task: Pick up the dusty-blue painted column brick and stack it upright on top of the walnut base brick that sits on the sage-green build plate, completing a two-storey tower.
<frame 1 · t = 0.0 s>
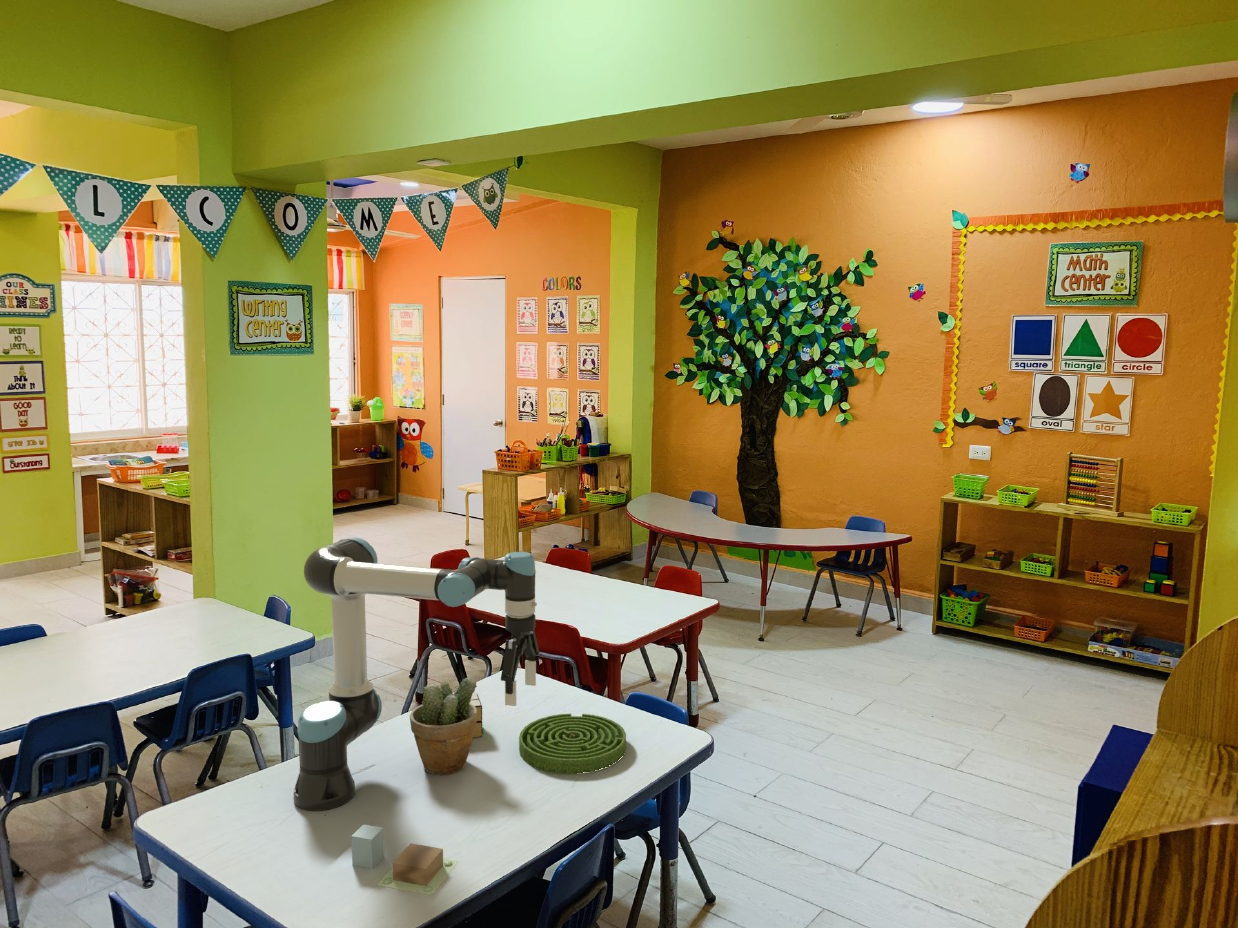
hand: (520, 694, 228), 28 cm above the table, fingers open, 13 cm apart
build plate: (418, 876, 197), on the table
potted plant: (444, 765, 249), on the table
maze: (572, 750, 260), on the table
column brick: (368, 864, 202), on the table
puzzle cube: (463, 732, 270), on the table
base brick: (418, 872, 197), point 1 cm above the table, touching build plate
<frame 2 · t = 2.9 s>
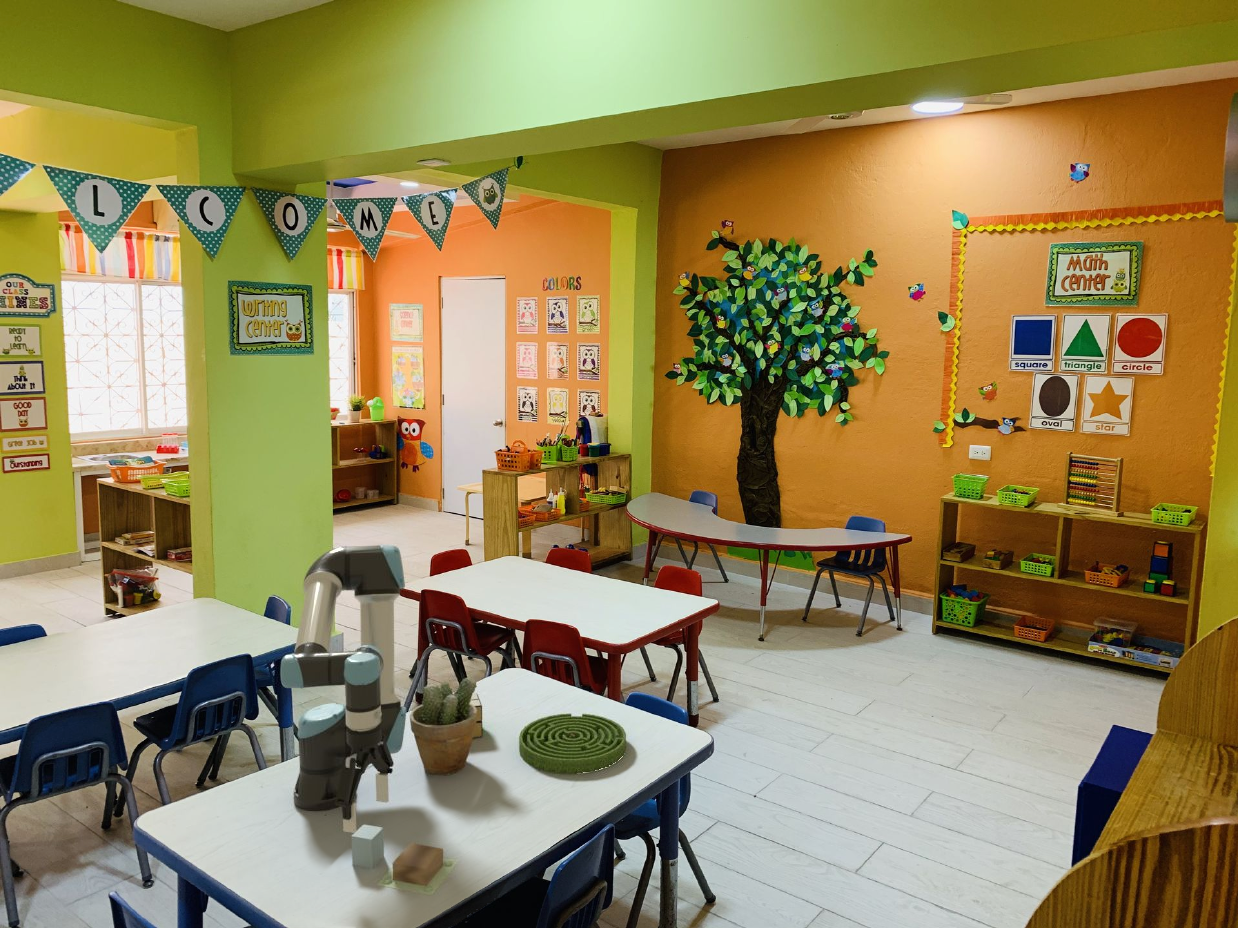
hand: (366, 815, 200), 12 cm above the table, fingers open, 13 cm apart
nothing on the table moved.
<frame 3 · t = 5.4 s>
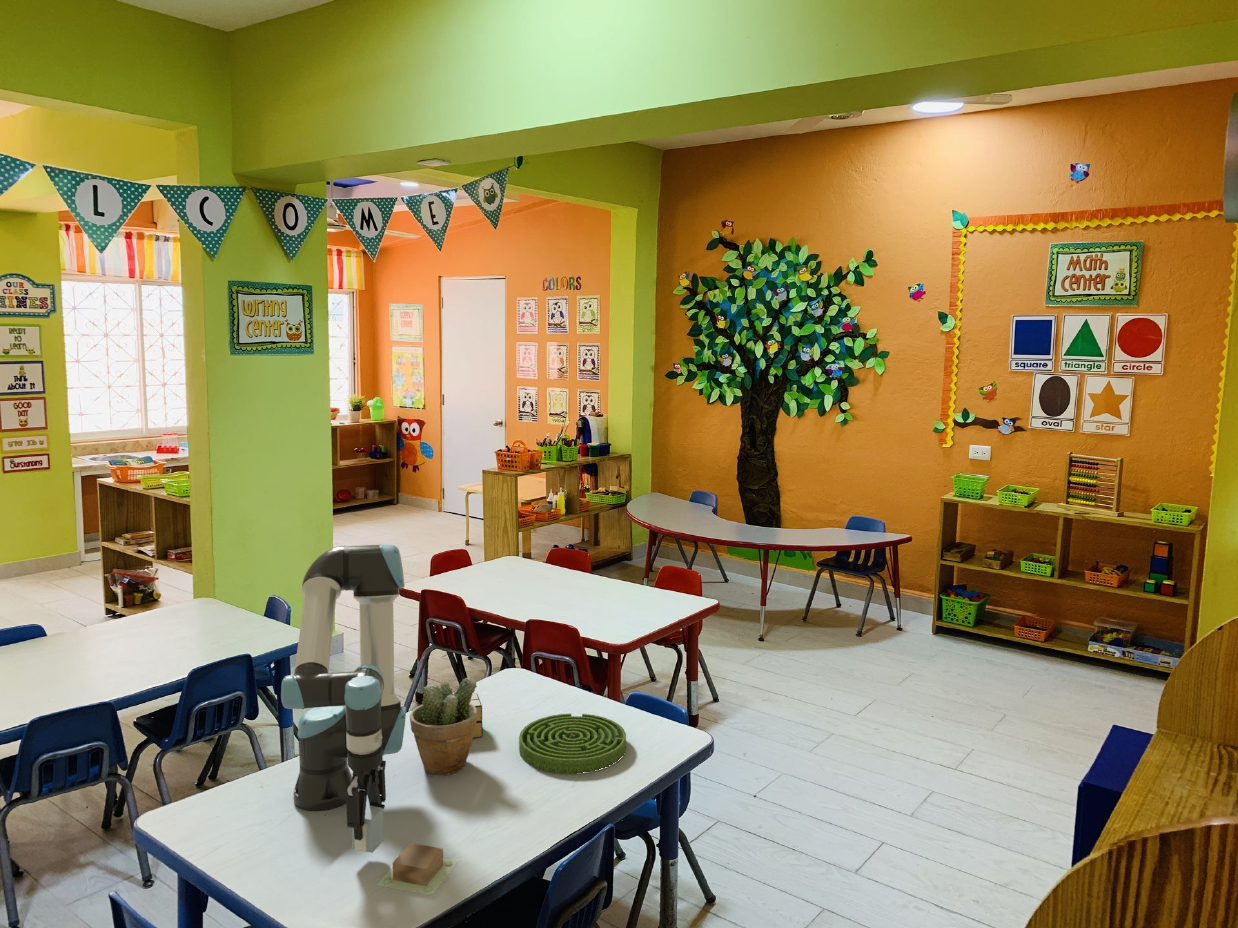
hand: (368, 842, 202), 5 cm above the table, fingers closed on column brick, 5 cm apart
column brick: (368, 844, 202), point 4 cm above the table, touching gripper
everything else where it was.
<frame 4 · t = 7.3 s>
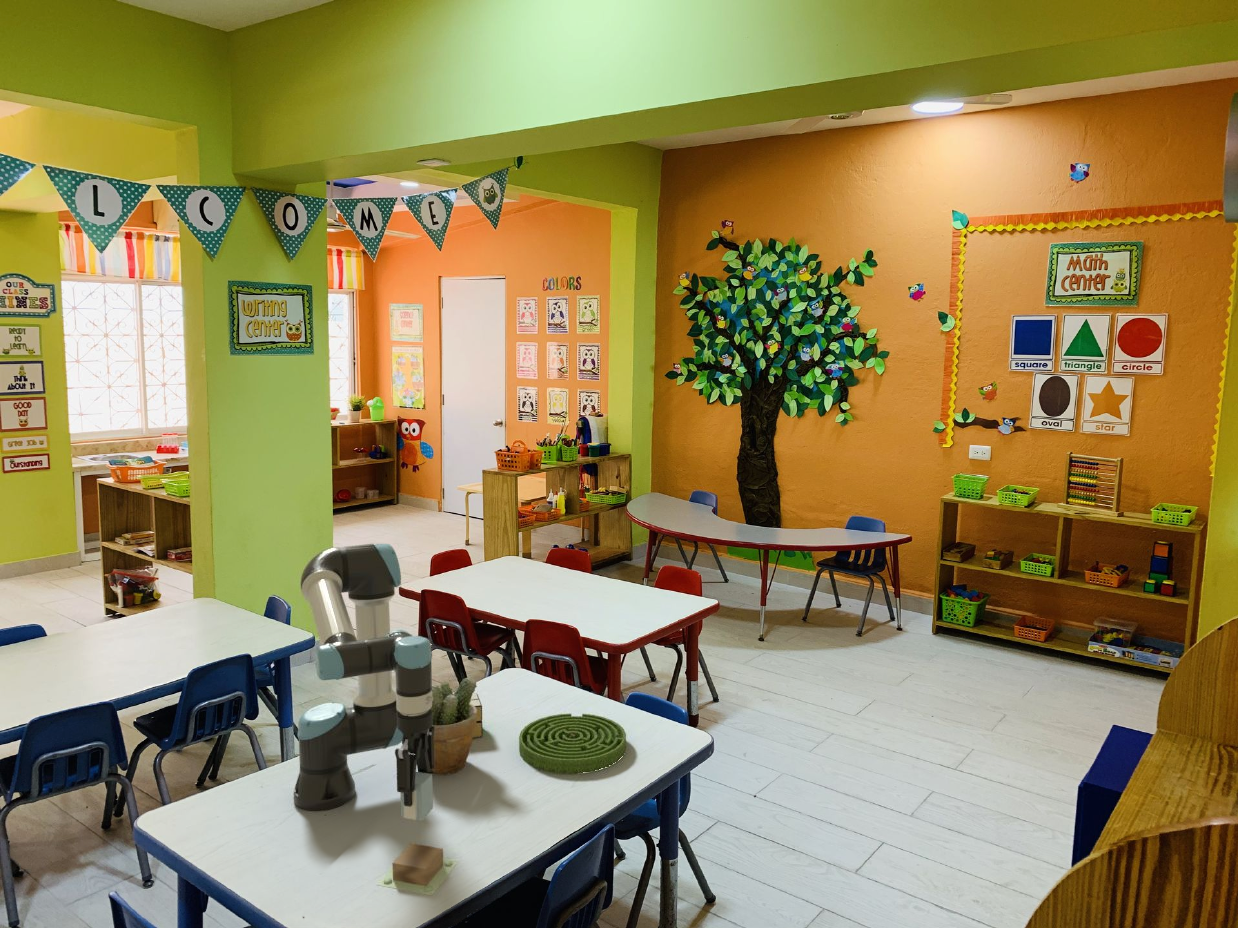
hand: (417, 810, 195), 16 cm above the table, fingers closed on column brick, 5 cm apart
column brick: (417, 812, 195), point 15 cm above the table, touching gripper
everything else where it was.
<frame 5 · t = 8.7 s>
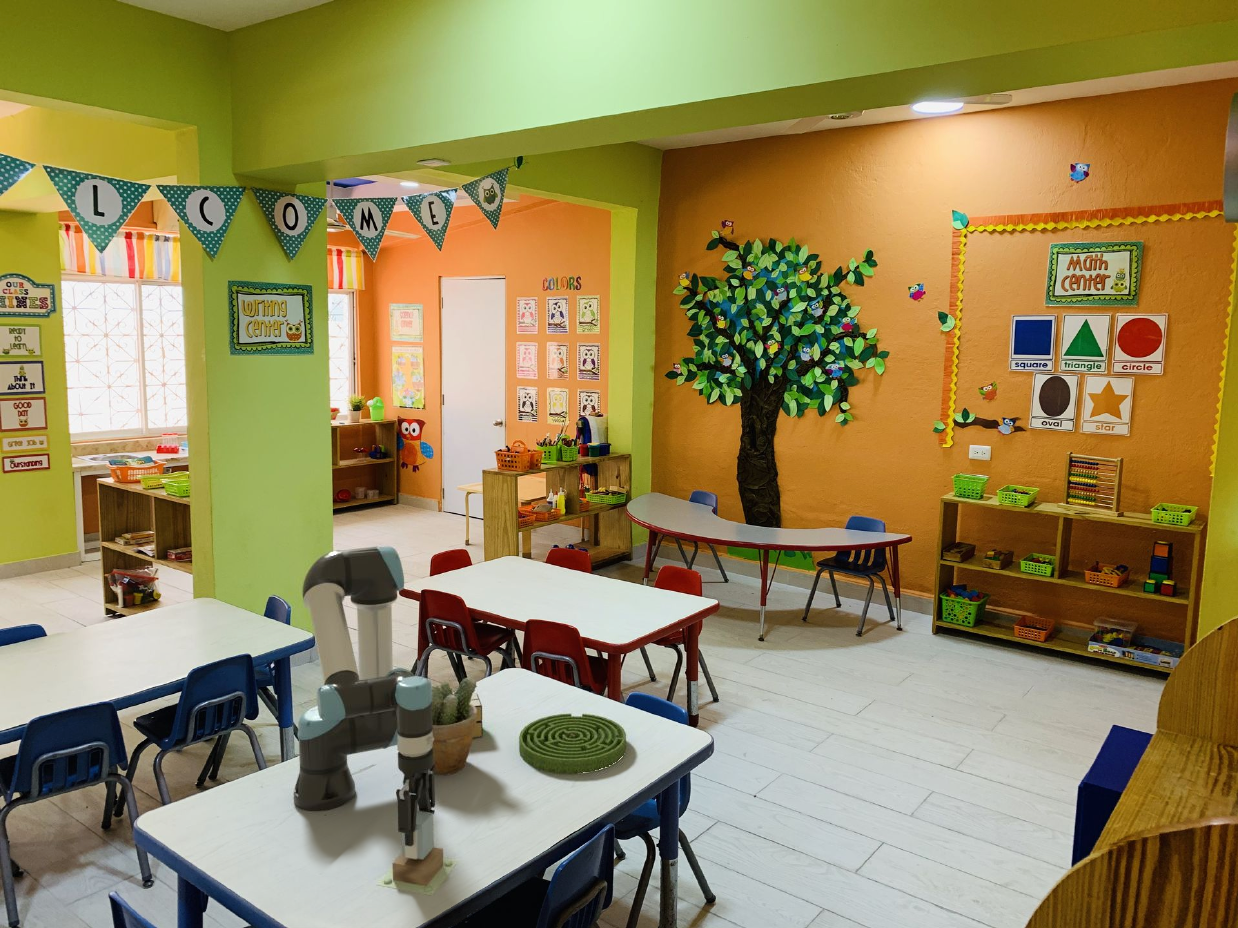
hand: (418, 849, 196), 6 cm above the table, fingers closed on column brick, 5 cm apart
column brick: (418, 851, 196), point 6 cm above the table, touching gripper
everything else where it was.
when the fingers open (5 cm above the table, at t = 9.3 s): column brick stays where it is, resting on base brick.
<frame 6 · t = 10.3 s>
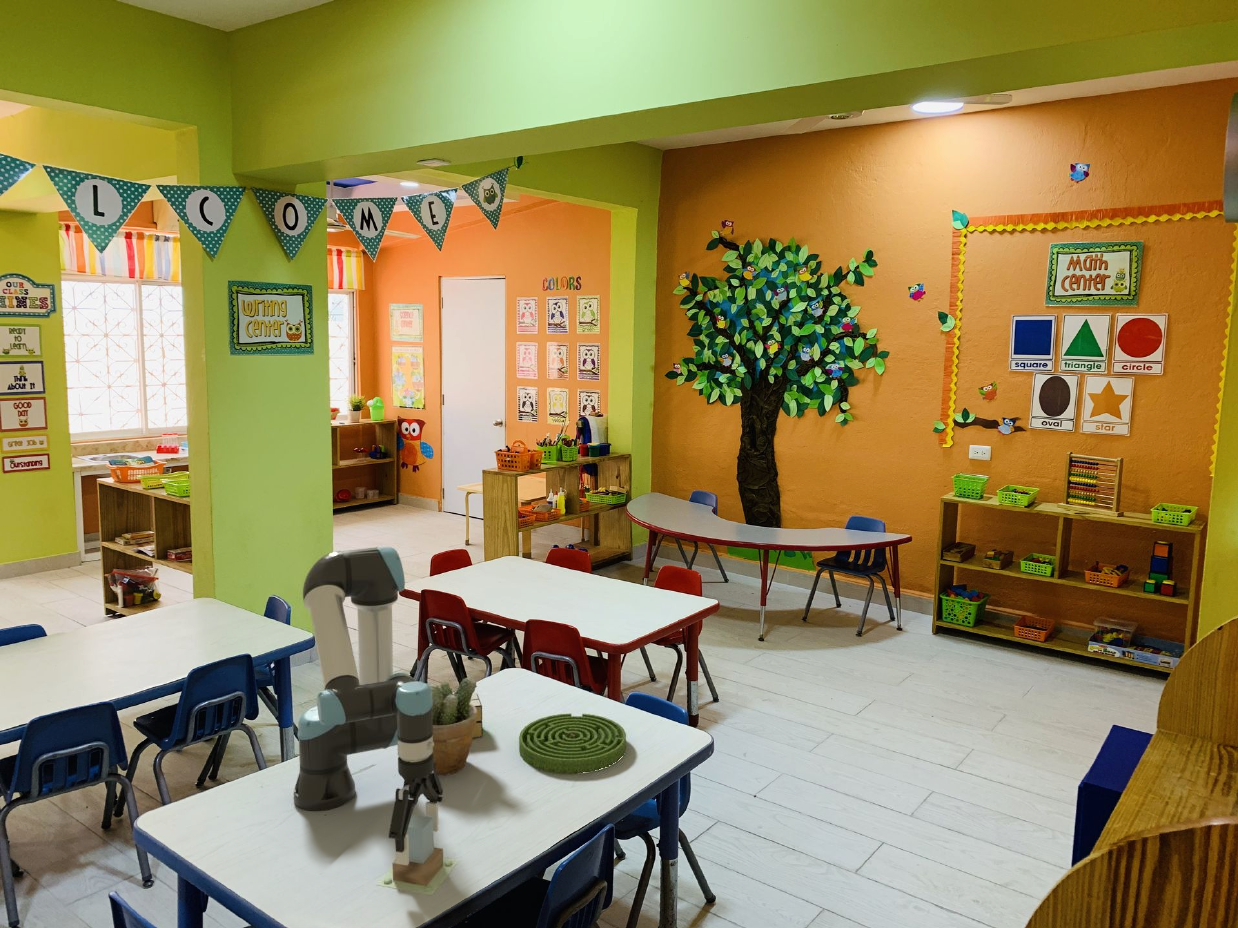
hand: (417, 846, 196), 7 cm above the table, fingers open, 13 cm apart
column brick: (418, 855, 197), point 5 cm above the table, touching base brick
base brick: (418, 872, 197), point 1 cm above the table, touching build plate, column brick
everything else where it was.
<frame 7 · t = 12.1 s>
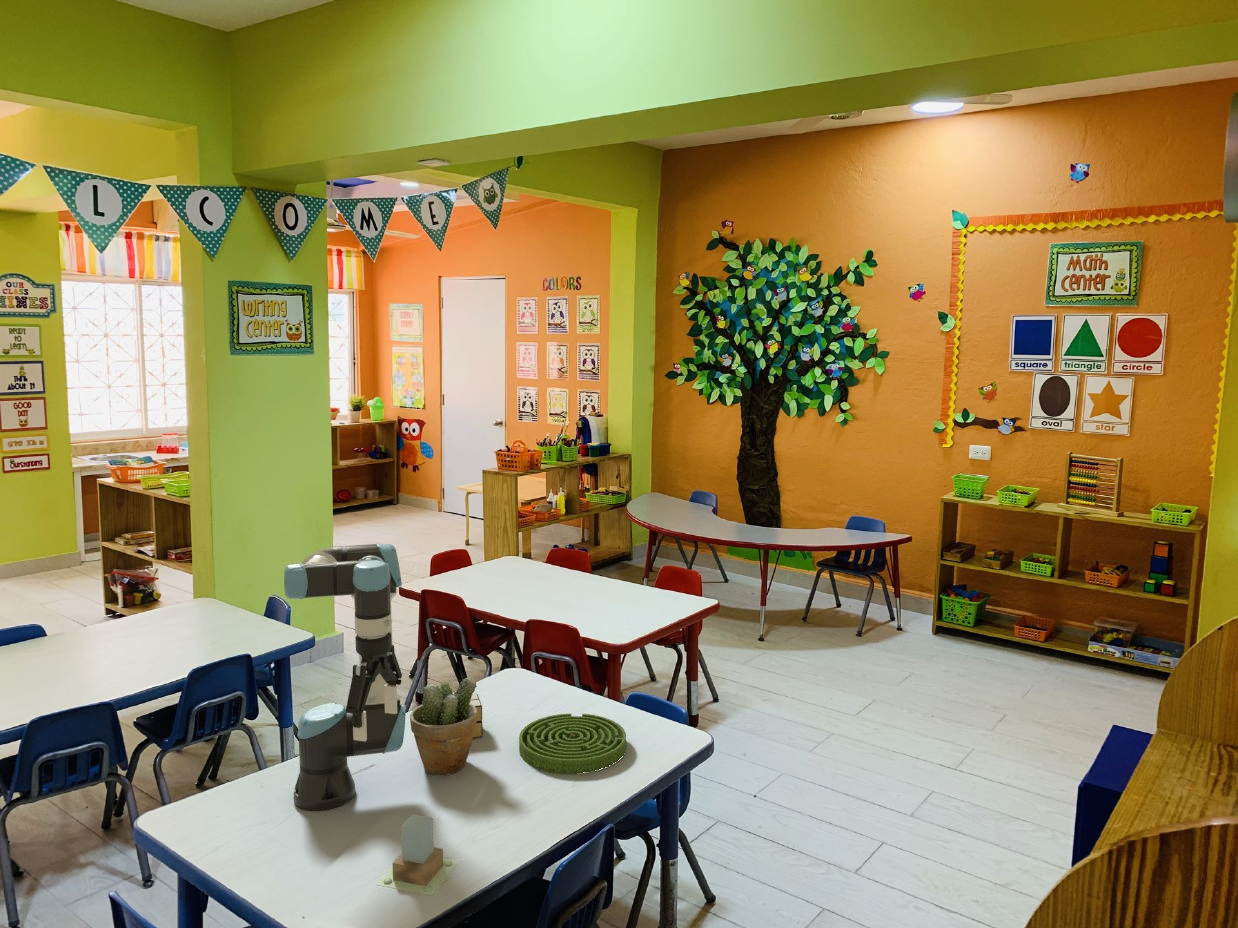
hand: (376, 725, 196), 33 cm above the table, fingers open, 13 cm apart
nothing on the table moved.
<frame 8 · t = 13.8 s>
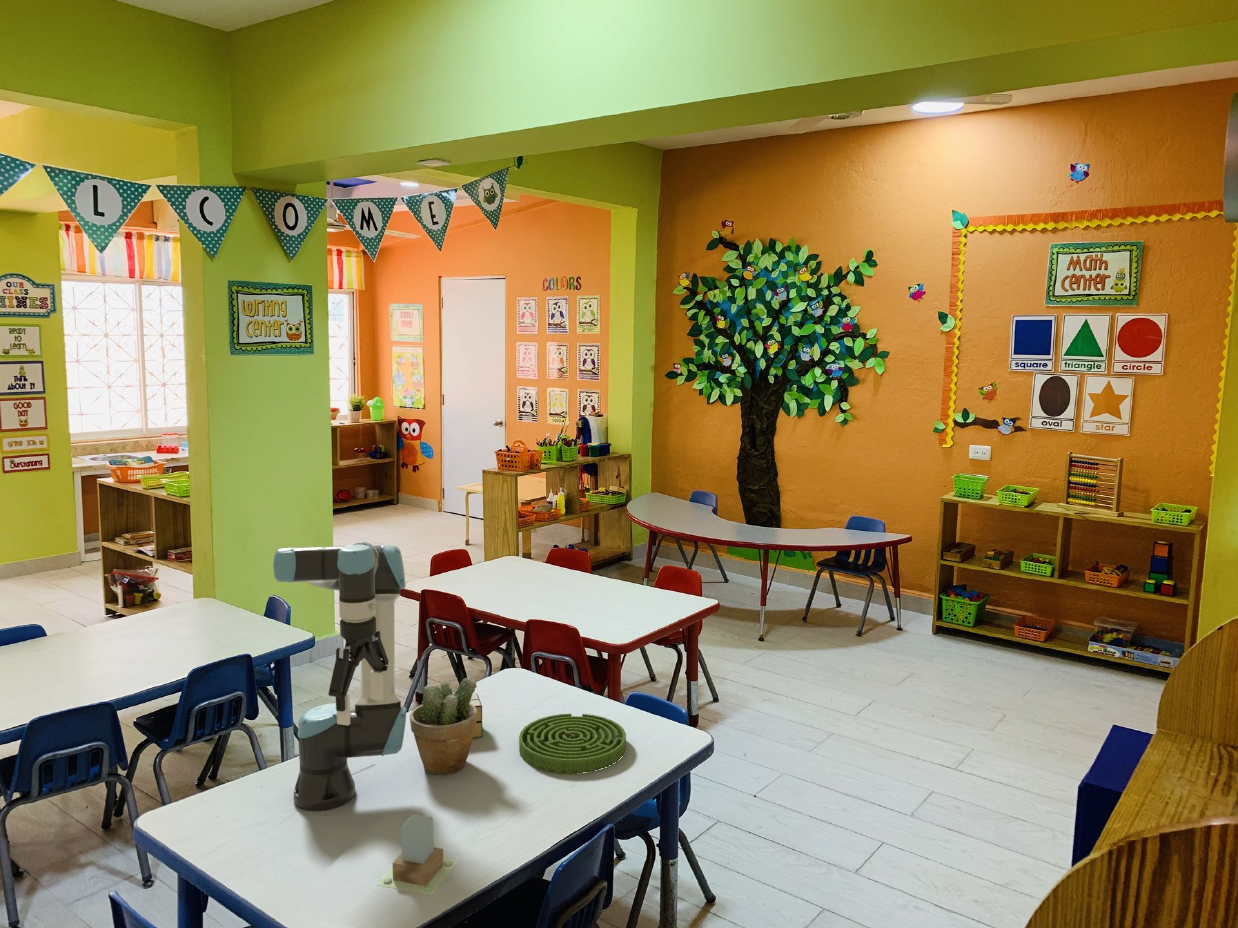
hand: (361, 711, 196), 37 cm above the table, fingers open, 13 cm apart
nothing on the table moved.
at the end: column brick 0.0 cm from the base brick (horizontally); column brick point 5.0 cm above the table; column brick tilted 0° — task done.
